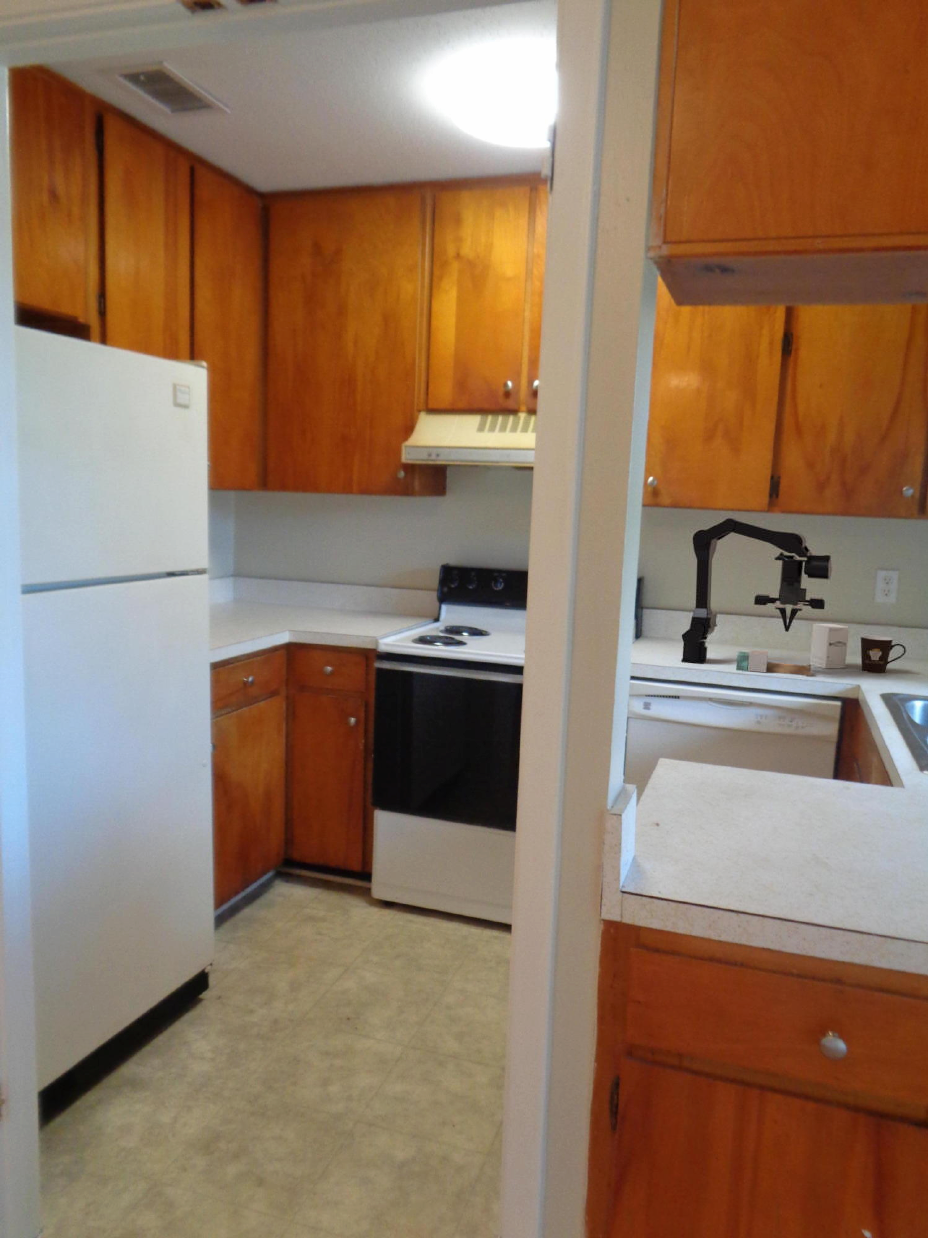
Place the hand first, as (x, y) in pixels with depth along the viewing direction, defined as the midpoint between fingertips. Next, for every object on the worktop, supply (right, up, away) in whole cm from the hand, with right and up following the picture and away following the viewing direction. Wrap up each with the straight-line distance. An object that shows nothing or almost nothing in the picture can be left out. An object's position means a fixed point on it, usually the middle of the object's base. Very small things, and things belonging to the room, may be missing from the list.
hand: (786, 631), depth 256 cm
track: (-3, -12, +2) cm, 12 cm away
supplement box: (+18, -11, +15) cm, 25 cm away
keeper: (-7, -11, +4) cm, 14 cm away
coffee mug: (+30, -12, +8) cm, 33 cm away
